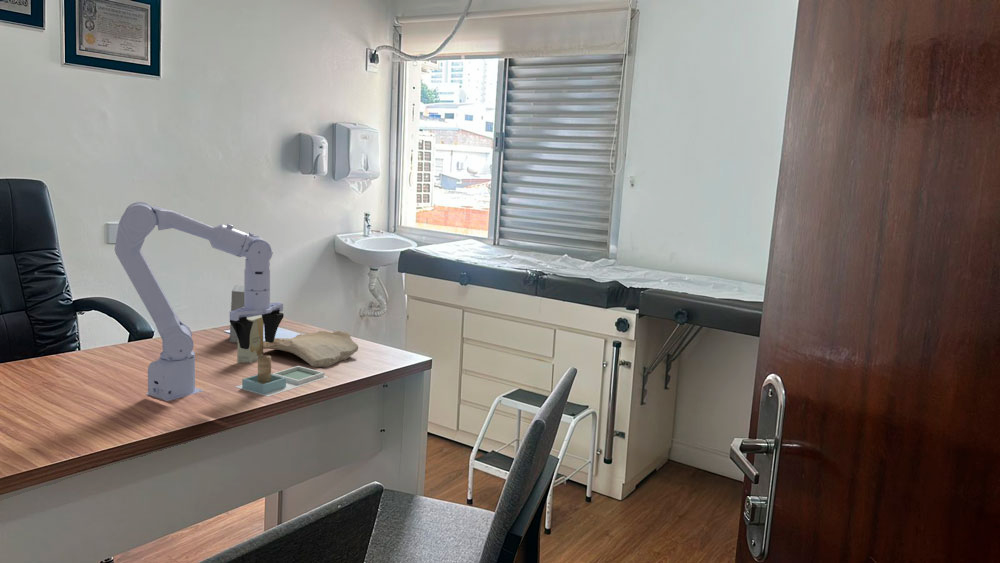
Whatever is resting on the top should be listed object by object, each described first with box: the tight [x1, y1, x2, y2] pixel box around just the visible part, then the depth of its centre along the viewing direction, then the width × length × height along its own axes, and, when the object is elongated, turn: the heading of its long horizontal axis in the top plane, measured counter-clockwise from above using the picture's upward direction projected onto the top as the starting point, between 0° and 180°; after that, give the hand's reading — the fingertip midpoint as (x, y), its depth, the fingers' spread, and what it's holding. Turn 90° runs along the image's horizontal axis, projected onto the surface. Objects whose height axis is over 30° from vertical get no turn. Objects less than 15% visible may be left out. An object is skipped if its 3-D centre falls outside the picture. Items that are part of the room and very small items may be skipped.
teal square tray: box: [241, 373, 286, 394], centre depth 169 cm, size 7×7×2 cm
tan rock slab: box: [263, 330, 359, 368], centre depth 200 cm, size 24×8×20 cm
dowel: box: [257, 354, 272, 384], centre depth 168 cm, size 3×3×8 cm
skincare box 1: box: [229, 284, 244, 344], centre depth 211 cm, size 8×7×16 cm
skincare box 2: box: [236, 315, 264, 364], centre depth 190 cm, size 6×4×12 cm
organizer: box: [235, 365, 329, 398], centre depth 174 cm, size 20×11×2 cm, turn 151°
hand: (257, 345), depth 169 cm, fingers open, 7 cm apart
